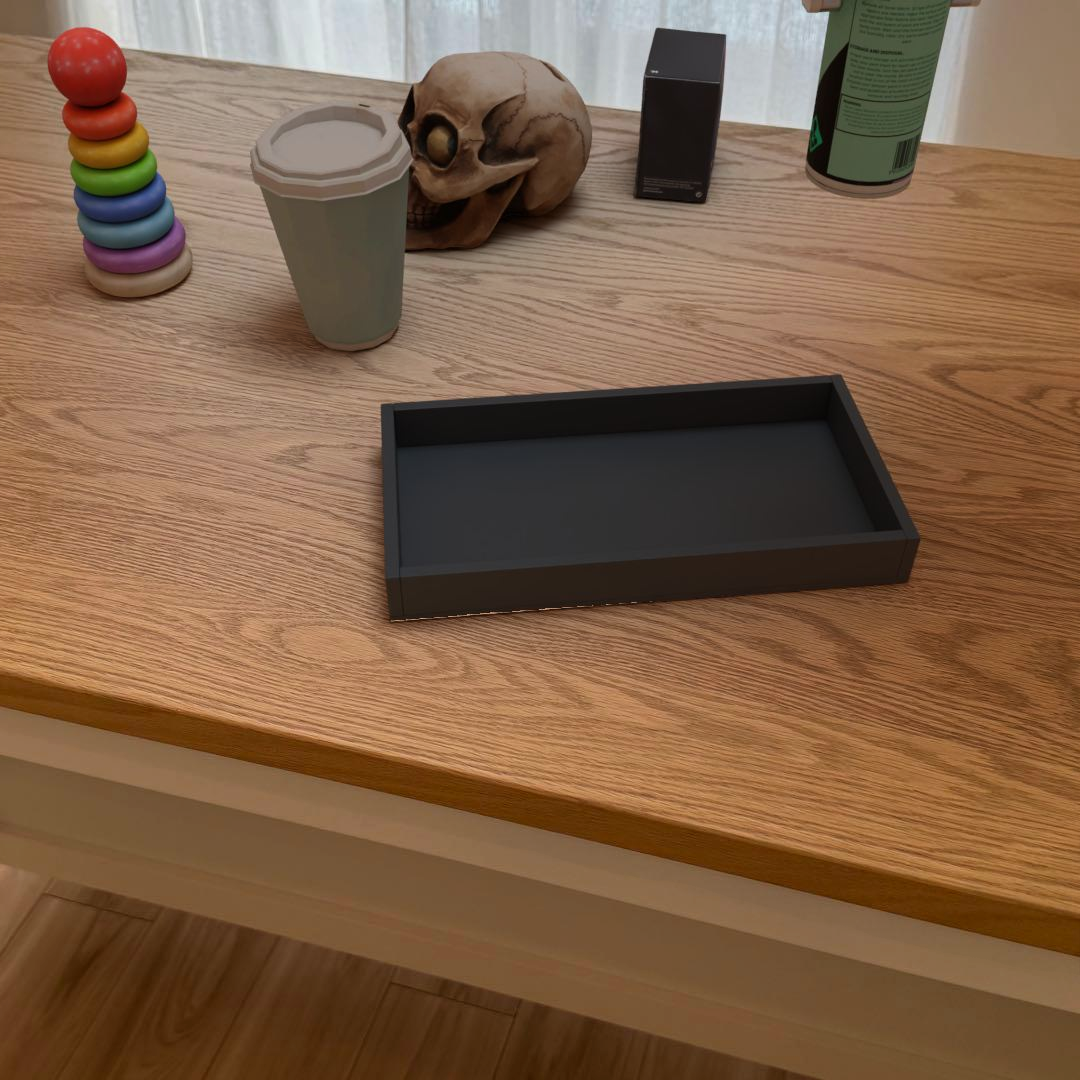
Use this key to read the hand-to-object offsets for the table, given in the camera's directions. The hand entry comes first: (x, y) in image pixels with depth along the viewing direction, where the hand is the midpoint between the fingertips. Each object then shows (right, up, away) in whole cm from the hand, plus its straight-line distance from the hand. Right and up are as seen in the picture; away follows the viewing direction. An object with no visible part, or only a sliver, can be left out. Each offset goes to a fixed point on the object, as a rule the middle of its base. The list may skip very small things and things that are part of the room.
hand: (889, 5), depth 59 cm
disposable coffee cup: (-30, -10, +32) cm, 45 cm away
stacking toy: (-47, -5, +37) cm, 60 cm away
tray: (-11, -24, +17) cm, 31 cm away
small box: (-5, +6, +49) cm, 50 cm away
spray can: (0, -6, +6) cm, 9 cm away
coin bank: (-22, +2, +44) cm, 49 cm away
